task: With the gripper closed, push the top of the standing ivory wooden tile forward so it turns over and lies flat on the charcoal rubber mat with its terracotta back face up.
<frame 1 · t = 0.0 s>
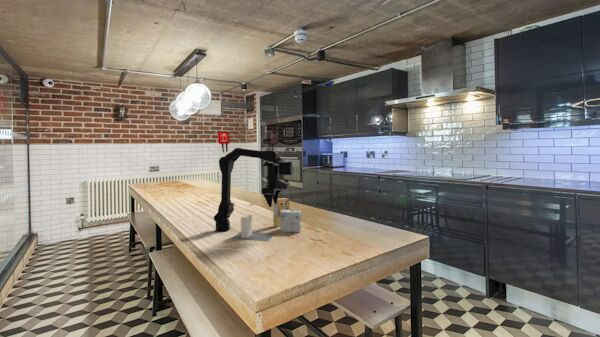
hand: (273, 205, 167), 15 cm above the table, fingers open, 9 cm apart
rubber mat: (253, 236, 162), on the table
light bulb box: (291, 231, 173), on the table
ivory tile: (246, 235, 162), resting on rubber mat
candy box: (281, 226, 184), on the table
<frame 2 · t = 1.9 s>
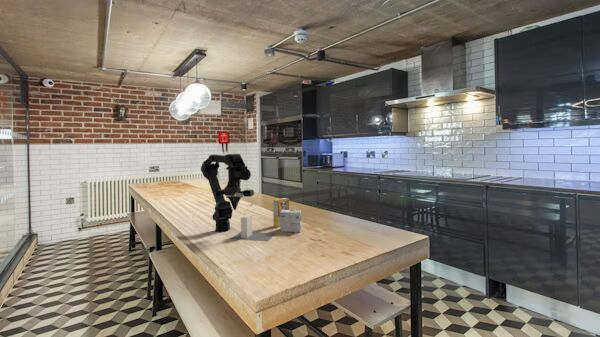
hand: (234, 209, 164), 13 cm above the table, fingers closed
nothing on the table moved.
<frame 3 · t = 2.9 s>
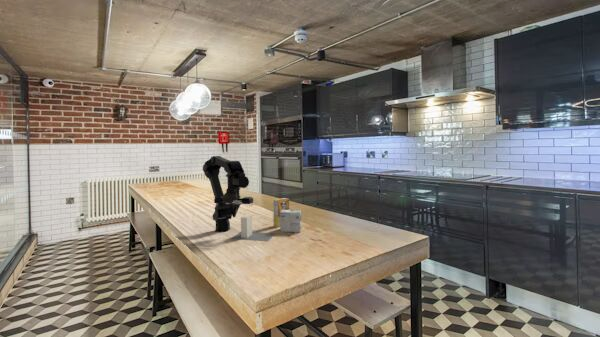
hand: (234, 217, 163), 10 cm above the table, fingers closed
nothing on the table moved.
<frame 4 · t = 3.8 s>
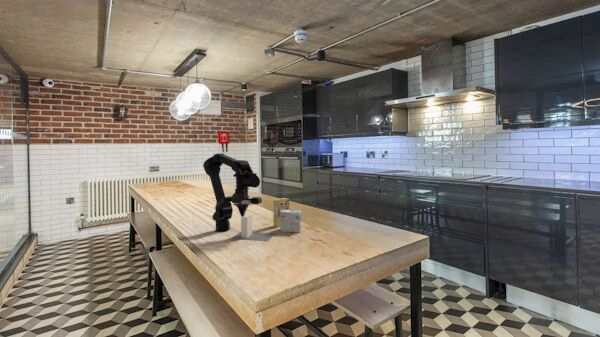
hand: (242, 217, 162), 10 cm above the table, fingers closed
ivory tile: (246, 235, 162), resting on rubber mat, touching gripper
everything else where it was.
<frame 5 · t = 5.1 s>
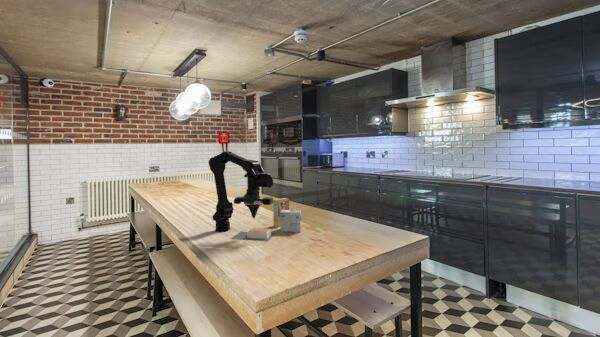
hand: (253, 217, 161), 10 cm above the table, fingers closed
ivory tile: (249, 232, 162), point 2 cm above the table, tilted 90°, touching rubber mat
everything else where it was.
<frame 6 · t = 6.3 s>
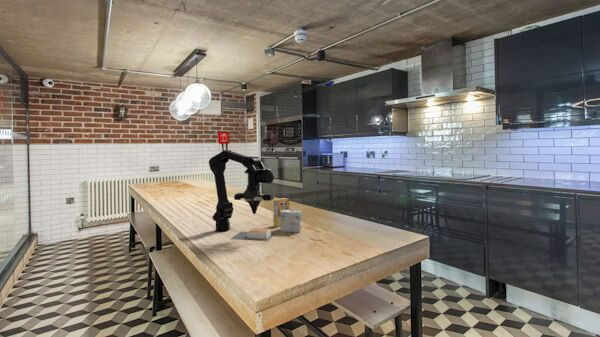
hand: (254, 213, 161), 12 cm above the table, fingers closed
nothing on the table moved.
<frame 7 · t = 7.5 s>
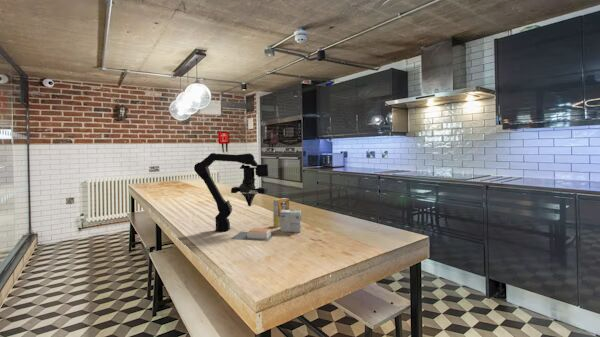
hand: (249, 206, 174), 13 cm above the table, fingers closed
nothing on the table moved.
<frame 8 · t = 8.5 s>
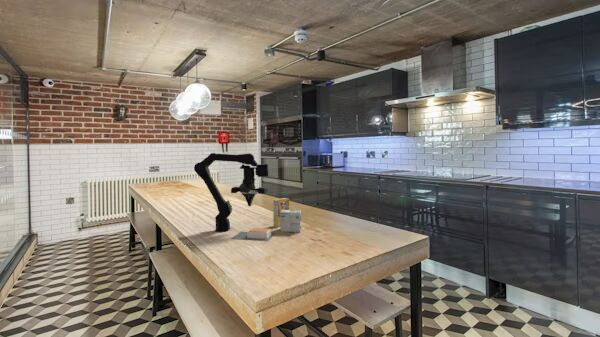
hand: (249, 206, 174), 13 cm above the table, fingers closed
nothing on the table moved.
at the end: ivory tile tilted 90°; ivory tile inside the target area (1.9 cm from its centre), point 1.9 cm above the table; ivory tile touching rubber mat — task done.
